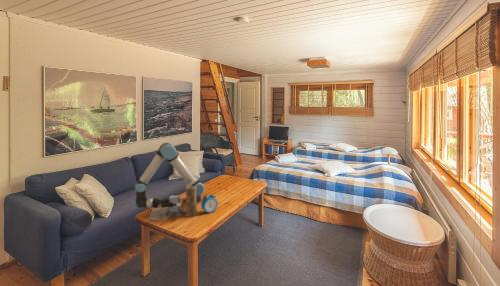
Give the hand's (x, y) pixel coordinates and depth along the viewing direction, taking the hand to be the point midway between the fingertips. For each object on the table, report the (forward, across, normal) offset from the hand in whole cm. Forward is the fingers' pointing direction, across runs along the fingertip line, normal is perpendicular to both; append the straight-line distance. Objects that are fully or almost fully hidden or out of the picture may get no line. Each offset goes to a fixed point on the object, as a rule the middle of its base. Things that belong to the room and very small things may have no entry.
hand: (181, 203), depth 217 cm
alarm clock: (+22, -5, -10) cm, 25 cm away
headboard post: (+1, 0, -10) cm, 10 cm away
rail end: (-5, 0, -8) cm, 10 cm away
